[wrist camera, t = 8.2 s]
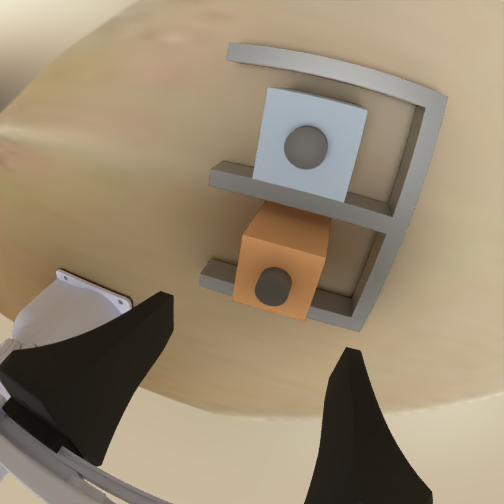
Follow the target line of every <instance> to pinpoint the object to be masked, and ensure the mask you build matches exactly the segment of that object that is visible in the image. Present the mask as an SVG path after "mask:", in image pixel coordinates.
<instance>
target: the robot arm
mask: <svg viewBox="0 0 504 504" xmlns="http://www.w3.org/2000/svg"><path fill="white" fill-rule="evenodd" d="M56 275H57V279H56V280H55V281H54V282H52V283H51V284H50V285H49V286H48V287H47V288H45V289H44V290H43V291H42V292H41V293H40V294H39V295H37V296H36V297H35V298H34V299H33V300H32V301H31V302H30V303H28V304H27V305H26V306H25V307H24V308H23V309H22V310H21V311H20V313H19V314H18V316H17V318H16V320H15V322H14V325H13V331H12V337H13V339H10V338H9V339H7V340H5V341H4V342H3V343H2V344H0V482H1V480H2V479H3V478H4V477H5V476H6V475H7V474H8V473H11V474H12V475H13V476H14V477H15V478H16V479H18V480H19V481H20V482H21V483H22V484H23V485H25V486H26V487H27V488H28V489H29V490H30V491H32V492H33V493H34V494H35V495H37V496H38V497H39V498H41V499H42V500H43V501H44V502H46V503H47V504H115V503H114V502H112V501H111V500H110V499H109V498H107V497H106V494H104V493H102V492H101V491H99V490H98V489H96V488H95V487H93V486H92V485H90V484H88V483H87V482H86V481H84V479H86V480H87V481H89V482H91V483H92V484H94V485H96V486H98V487H99V488H101V489H103V490H105V491H106V492H108V493H110V494H112V495H114V496H116V497H118V498H120V499H122V500H124V501H126V502H128V503H130V504H172V503H169V502H167V501H164V500H162V499H160V498H157V497H155V496H153V495H151V494H148V493H146V492H144V491H142V490H140V489H138V488H135V487H133V486H131V485H129V484H127V483H125V482H123V481H121V480H119V479H117V478H116V477H114V476H112V475H110V474H108V473H106V472H104V471H103V470H101V469H99V468H97V466H101V465H102V462H103V460H104V457H105V454H106V452H107V449H108V447H109V444H110V442H111V439H112V437H113V435H114V432H115V430H116V428H117V426H118V424H119V421H120V419H121V417H122V415H123V413H124V411H125V409H126V407H127V405H128V403H129V402H130V400H131V398H132V396H133V394H134V392H135V391H136V389H137V387H138V386H139V384H140V383H141V382H142V380H143V379H144V377H145V376H146V374H147V373H148V371H149V370H150V369H151V367H152V366H153V364H154V363H155V361H156V360H157V358H158V357H159V356H160V354H161V353H162V351H163V350H164V348H165V346H166V344H167V342H168V340H169V338H170V336H171V334H172V332H173V330H174V320H173V303H174V296H173V295H170V294H168V293H165V292H162V291H160V292H158V293H156V294H155V295H153V296H151V297H150V298H148V299H147V300H145V301H143V302H142V303H140V304H139V305H137V306H135V307H134V308H132V304H131V301H130V300H129V299H128V298H126V297H124V296H121V295H119V294H116V293H114V292H111V291H109V290H107V289H104V288H102V287H100V286H97V285H95V284H92V283H90V282H88V281H86V280H83V279H81V278H79V277H76V276H74V275H72V274H70V273H67V272H65V271H63V270H61V269H58V270H57V271H56ZM83 478H84V479H83ZM304 504H433V497H432V491H431V490H430V489H429V488H428V487H427V485H426V484H425V483H424V482H423V481H422V480H421V479H420V477H419V476H418V475H417V474H416V472H415V471H414V469H413V468H412V467H411V466H410V464H409V463H408V461H407V459H406V458H405V456H404V455H403V453H402V452H401V450H400V448H399V447H398V445H397V443H396V442H395V440H394V438H393V436H392V434H391V432H390V430H389V428H388V426H387V424H386V422H385V419H384V417H383V415H382V412H381V410H380V408H379V405H378V402H377V400H376V397H375V394H374V391H373V389H372V386H371V383H370V380H369V377H368V373H367V370H366V367H365V364H364V360H363V357H362V353H361V351H360V350H356V349H352V348H348V347H346V348H345V350H344V352H343V354H342V356H341V357H340V359H339V361H338V363H337V365H336V367H335V368H334V370H333V372H332V374H331V376H330V377H329V381H328V386H327V391H326V396H325V401H324V411H323V420H322V430H321V439H320V447H319V453H318V457H317V461H316V465H315V469H314V473H313V476H312V480H311V483H310V487H309V490H308V493H307V497H306V500H305V502H304Z"/></svg>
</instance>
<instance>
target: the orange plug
mask: <svg viewBox="0 0 504 504" xmlns="http://www.w3.org/2000/svg"><path fill="white" fill-rule="evenodd" d="M330 222H331V217H327V216H324V215H320V214H316V213H313V212H309V211H306V210H302V209H298V208H294V207H291V206H287V205H283V204H279V203H275V202H272V201H268V200H266V201H265V202H264V204H263V205H262V207H261V208H260V210H259V211H258V213H257V214H256V216H255V217H254V219H253V220H252V222H251V223H250V225H249V226H248V228H247V229H246V231H245V232H244V234H243V236H242V242H241V248H240V254H239V260H238V266H237V272H236V278H235V284H234V290H233V297H232V300H233V301H237V302H240V303H243V304H246V305H250V306H253V307H256V308H260V309H263V310H266V311H270V312H273V313H277V314H280V315H284V316H287V317H291V318H294V319H298V320H301V321H305V318H306V315H307V313H308V310H309V307H310V304H311V302H312V299H313V296H314V293H315V290H316V287H317V284H318V281H319V279H320V276H321V273H322V270H323V267H324V264H325V261H326V257H327V248H328V240H329V231H330Z"/></svg>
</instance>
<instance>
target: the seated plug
mask: <svg viewBox="0 0 504 504" xmlns="http://www.w3.org/2000/svg"><path fill="white" fill-rule="evenodd" d="M367 113H368V110H366V109H365V108H363V107H362V106H360V105H357V104H353V103H349V102H346V101H342V100H338V99H334V98H330V97H326V96H322V95H318V94H313V93H309V92H304V91H299V90H295V89H290V88H275V87H268V90H267V96H266V102H265V107H264V113H263V119H262V125H261V131H260V136H259V142H258V148H257V154H256V160H255V166H254V172H253V178H252V179H256V180H260V181H264V182H268V183H272V184H276V185H280V186H284V187H288V188H292V189H296V190H300V191H304V192H307V193H311V194H315V195H319V196H322V197H326V198H329V199H333V200H337V201H340V202H344V200H345V197H346V193H347V190H348V186H349V183H350V179H351V176H352V172H353V168H354V164H355V161H356V157H357V153H358V149H359V145H360V141H361V137H362V133H363V129H364V125H365V121H366V117H367Z"/></svg>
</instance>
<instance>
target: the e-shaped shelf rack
mask: <svg viewBox="0 0 504 504" xmlns="http://www.w3.org/2000/svg"><path fill="white" fill-rule="evenodd" d="M226 60H227V61H231V62H236V63H242V64H250V65H257V66H264V67H270V68H276V69H282V70H288V71H293V72H298V73H303V74H308V75H313V76H317V77H322V78H326V79H330V80H334V81H338V82H342V83H346V84H350V85H353V86H357V87H361V88H364V89H367V90H371V91H374V92H377V93H381V94H384V95H387V96H390V97H393V98H396V99H399V100H402V101H405V102H407V103H410V104H413V105H416V110H415V114H414V118H413V122H412V126H411V130H410V133H409V137H408V141H407V144H406V148H405V151H404V155H403V158H402V162H401V165H400V168H399V172H398V175H397V178H396V181H395V184H394V187H393V190H392V194H391V197H390V200H389V203H388V204H385V203H382V202H379V201H376V200H373V199H369V198H366V197H363V196H359V195H356V194H353V193H349V192H347V193H346V197H345V200H344V202H340V201H337V200H333V199H329V198H326V197H322V196H319V195H315V194H311V193H307V192H304V191H300V190H296V189H292V188H288V187H284V186H280V185H276V184H272V183H268V182H264V181H260V180H256V179H252V178H253V172H254V168H253V167H249V166H244V165H240V164H235V163H231V162H226V161H222V162H221V163H219V164H218V165H216V166H215V167H213V168H212V169H211V170H210V179H209V186H210V187H215V188H219V189H223V190H227V191H231V192H236V193H240V194H244V195H248V196H252V197H256V198H260V199H264V200H268V201H272V202H275V203H279V204H283V205H287V206H291V207H294V208H298V209H302V210H306V211H309V212H313V213H316V214H320V215H324V216H327V217H331V218H334V219H338V220H341V221H345V222H348V223H352V224H355V225H358V226H362V227H365V228H368V229H372V230H375V231H378V234H377V236H376V239H375V242H374V244H373V247H372V250H371V252H370V255H369V257H368V260H367V262H366V265H365V268H364V270H363V272H362V275H361V277H360V280H359V282H358V285H357V287H356V289H355V292H354V294H353V296H352V298H348V297H344V296H341V295H337V294H334V293H330V292H326V291H323V290H319V289H316V290H315V293H314V296H313V299H312V302H311V304H310V307H309V310H308V313H307V315H306V318H309V319H312V320H316V321H320V322H323V323H327V324H331V325H334V326H338V327H342V328H346V329H350V330H353V331H357V332H360V331H361V329H362V327H363V325H364V324H365V322H366V320H367V318H368V316H369V314H370V312H371V310H372V307H373V305H374V303H375V301H376V299H377V297H378V295H379V293H380V291H381V289H382V286H383V284H384V282H385V280H386V278H387V275H388V273H389V271H390V269H391V266H392V264H393V262H394V259H395V257H396V255H397V252H398V250H399V248H400V245H401V243H402V240H403V238H404V235H405V233H406V230H407V228H408V225H409V222H410V220H411V217H412V214H413V212H414V209H415V206H416V204H417V201H418V198H419V195H420V192H421V189H422V186H423V184H424V181H425V178H426V174H427V171H428V168H429V165H430V162H431V159H432V155H433V152H434V149H435V145H436V142H437V138H438V135H439V131H440V127H441V124H442V120H443V116H444V112H445V108H446V104H447V99H448V96H446V95H443V94H441V93H438V92H436V91H433V90H431V89H428V88H426V87H423V86H421V85H418V84H415V83H413V82H410V81H407V80H404V79H401V78H398V77H395V76H392V75H389V74H386V73H383V72H380V71H377V70H373V69H370V68H366V67H363V66H359V65H356V64H352V63H348V62H344V61H340V60H336V59H332V58H327V57H323V56H318V55H313V54H308V53H303V52H298V51H292V50H287V49H280V48H274V47H267V46H259V45H251V44H242V43H231V42H229V45H228V51H227V57H226ZM236 272H237V266H235V265H232V264H228V263H225V262H222V261H218V260H215V259H211V260H210V261H209V262H208V264H207V265H206V267H205V268H204V269H203V271H202V272H201V273H200V283H199V286H202V287H205V288H208V289H211V290H214V291H217V292H221V293H224V294H227V295H230V296H233V290H234V284H235V278H236Z"/></svg>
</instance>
